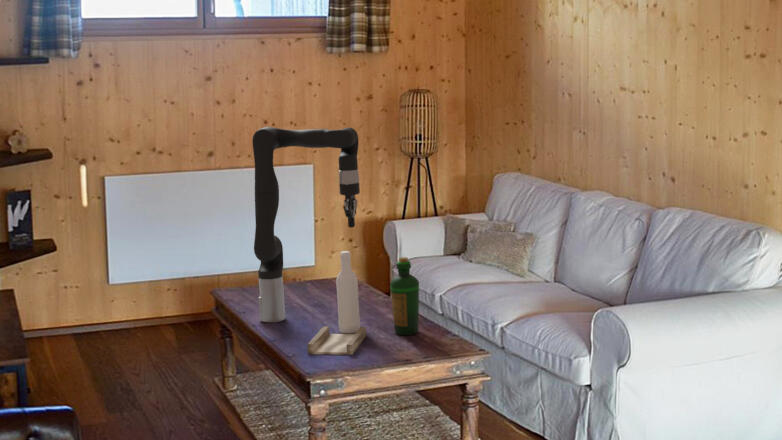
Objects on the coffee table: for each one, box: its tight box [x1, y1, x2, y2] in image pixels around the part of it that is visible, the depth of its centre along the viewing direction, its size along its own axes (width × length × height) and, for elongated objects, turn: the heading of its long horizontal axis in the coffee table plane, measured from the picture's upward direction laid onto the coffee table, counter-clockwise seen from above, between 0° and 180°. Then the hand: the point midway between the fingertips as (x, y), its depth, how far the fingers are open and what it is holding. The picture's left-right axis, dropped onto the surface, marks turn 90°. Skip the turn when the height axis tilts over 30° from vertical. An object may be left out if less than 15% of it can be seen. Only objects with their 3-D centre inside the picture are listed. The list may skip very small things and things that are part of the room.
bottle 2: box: [389, 256, 420, 336], centre depth 395 cm, size 11×11×28 cm
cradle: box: [307, 325, 368, 356], centre depth 386 cm, size 16×22×4 cm
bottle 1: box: [335, 250, 361, 334], centre depth 401 cm, size 8×8×30 cm
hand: (351, 227), depth 408 cm, fingers closed
